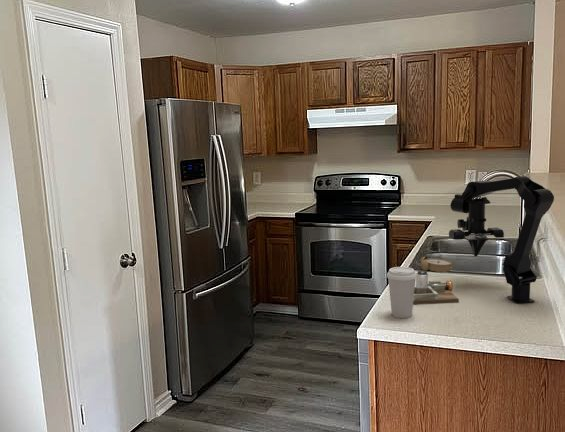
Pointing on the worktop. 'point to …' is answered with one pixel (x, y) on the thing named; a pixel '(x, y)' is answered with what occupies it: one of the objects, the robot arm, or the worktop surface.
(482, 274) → the worktop surface
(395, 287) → the coffee cup
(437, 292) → the tray
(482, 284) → the worktop surface
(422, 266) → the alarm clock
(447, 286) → the lock pin
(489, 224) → the worktop surface
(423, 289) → the grey cylinder
